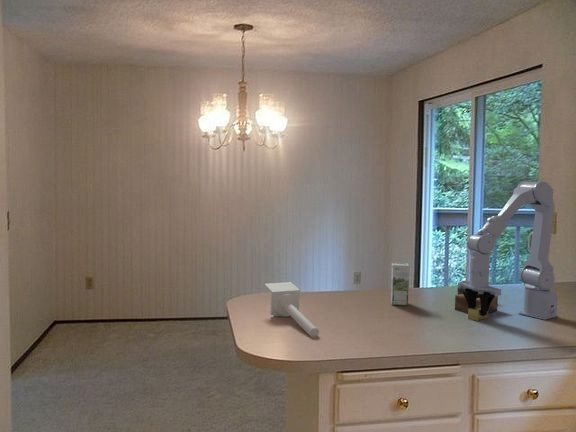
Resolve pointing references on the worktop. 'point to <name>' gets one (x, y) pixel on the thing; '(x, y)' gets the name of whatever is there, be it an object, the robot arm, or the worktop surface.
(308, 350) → the worktop surface
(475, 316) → the yellow rectangular block
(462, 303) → the walnut box
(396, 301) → the syrup box
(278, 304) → the white block with rod
